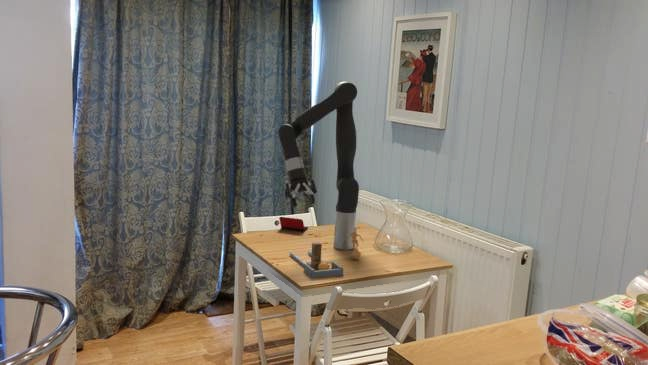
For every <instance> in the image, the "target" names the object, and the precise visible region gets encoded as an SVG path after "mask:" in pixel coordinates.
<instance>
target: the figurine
mask: <svg viewBox="0 0 648 365" xmlns="http://www.w3.org/2000/svg"><path fill="white" fill-rule="evenodd" d="M350 236H352V238H353V240H352V243H353V245H354V246H353V249H352V250H353V251H352V252H351V258H352V260H355V261H357V260H359V259H360V258H361V257H362V254H361V252H360V251H359V249H358V247H359V245H360V244H359V240H358V239H357V237H359V238H360V239H361V241H362V242H364V240H363V238H362V236H361V235H360V234H358V233H357V231H356V232H352V233H351V235H349V236H348V239H349V237H350ZM348 239H347V244H348V243H349V242H348ZM355 242H356V244H355ZM354 247H355V248H354Z"/></svg>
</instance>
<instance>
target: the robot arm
mask: <svg viewBox="0 0 648 365" xmlns="http://www.w3.org/2000/svg"><path fill="white" fill-rule="evenodd" d="M333 90H334V91H333V92H332V93H331V94H330V95H329V96H328V97H326V98H325V99H323V100H321V101H320V102H317V103H316V104H314V105H312V106H310V107H309V108H308V109H306V110H304V111H303V112H301V113H300V114H299V115H297V116H296V117H295V120H294V121H293V122H292V123H290V124H288V123H284V124H282V125H281V126H280V127H279V128H278V131H277V132H278V137H279V142H280V144H281V147H282V151H283V156H284V160H285V167H286V171H287V175H288V176H287V177H288V180H289V183H286V184H284V185H283V189H284V195H285V198H286V199H290V202H291V203H290V204H291V206H292V207H293V208H297V207H298V205H297V204H298V203H297V201H296V200H297V199H296V195H297V194H298V193H305V194H307V195H308V199H309V204H310V205H314V204H315V202H316V200H315V194H316V193H318V191H317V187H316V183H315V181H314V179H311V180H309V181H308V180H307V173H306V170H305V166H304V162H303V160H302V156H301V152H300V147H299V146H298V144H297V143H298V142H297V138H299V137H300V136H302V134H303V133H304V132H305V131H306V130H308V129H309V128H311V127H313V126H314V125H315V124H317V123H318V122H320V121H321V120H322V119H324V118H325V117H326V116H328V115H329V114H330V113H333V112H334V111H335V110H336V119H335V122H336V123H335V148H336V149H335V150H336V161H337V169H336V170H337V172H336V173H337V174H336V183H335V184H336V186H335V187H336V190H337V192H338V193H337V194H338V195H337V203H336V205H335V216H334V217H335V218H334V232H333V234H334V236H333V247H334V248H335V249H338V250H343V251H344V250H345V251H350V250H354V249H356V246H355V247H354V249H353V246H354V245H353V243H352V240H353V238H352V236H350V237H349V239H348V236H349V235H351V233H352V232H356V233H357V230H358V229H357V227H356V216H357V208H358V204H359V194H360V193H359V192H360V185H359V183H358V180H356V179H355V171H354V162H355V156H356V152H357V130H356V125H355V124H356V123H355V120H354V119H355V118H354V114H353V113H354V112H353V105H354V100H356V97H357V95H358V89H357V86H356V85H355V84H354V83H353V82H349V81H341V82H339V83H338V84H336V86H335V88H334V89H333ZM290 189H292V190H290ZM347 239H348V242H349V243H348V244H347ZM355 245H357V244H356V242H355Z"/></svg>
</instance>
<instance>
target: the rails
mask: <svg viewBox="0 0 648 365" xmlns="http://www.w3.org/2000/svg"><path fill="white" fill-rule="evenodd" d="M307 255H309V256H310V257H311V255H312V250H308V251H307ZM289 257H291V258H292V259H293V260H295V262H297V263H298V265H300V266H302V268H304V264H307V262H306V261H303V259H302V258H300V257H299V256H298V255H296V254H295V253H294V252H292V251H291V252H289ZM322 260H323V258H321V261H322ZM328 265H329V267H330V264H329V263H328Z"/></svg>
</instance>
